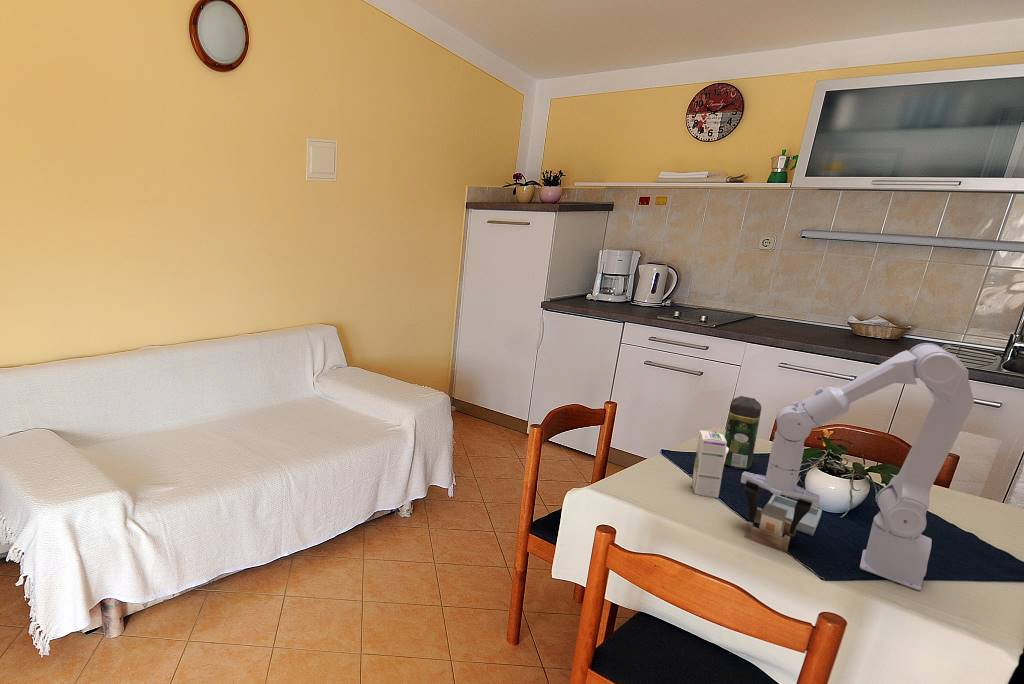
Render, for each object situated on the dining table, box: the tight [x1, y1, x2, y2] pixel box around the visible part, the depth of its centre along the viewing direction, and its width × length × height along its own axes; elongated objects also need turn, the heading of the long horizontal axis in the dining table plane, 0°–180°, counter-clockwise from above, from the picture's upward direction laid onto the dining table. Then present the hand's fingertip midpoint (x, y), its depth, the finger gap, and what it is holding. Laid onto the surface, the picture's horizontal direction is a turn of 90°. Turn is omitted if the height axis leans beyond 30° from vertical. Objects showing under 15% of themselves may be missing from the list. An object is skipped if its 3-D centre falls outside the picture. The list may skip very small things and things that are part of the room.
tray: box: [767, 493, 823, 537], centre depth 119 cm, size 10×10×2 cm
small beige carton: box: [758, 502, 788, 537], centre depth 111 cm, size 4×4×6 cm
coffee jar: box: [724, 395, 762, 470], centre depth 145 cm, size 10×8×19 cm
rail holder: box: [743, 506, 797, 554], centre depth 111 cm, size 8×9×3 cm
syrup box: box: [691, 430, 727, 499], centre depth 128 cm, size 6×6×14 cm
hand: (771, 524), depth 111 cm, fingers open, 7 cm apart
